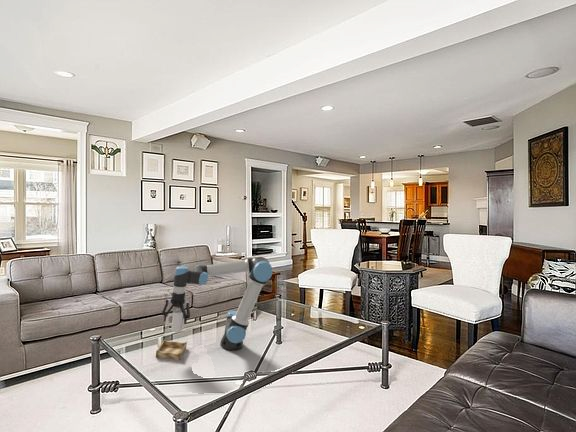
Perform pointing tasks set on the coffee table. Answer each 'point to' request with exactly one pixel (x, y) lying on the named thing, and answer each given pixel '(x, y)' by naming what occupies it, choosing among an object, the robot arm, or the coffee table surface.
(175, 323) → the mug
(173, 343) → the crate
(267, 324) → the coffee table surface
